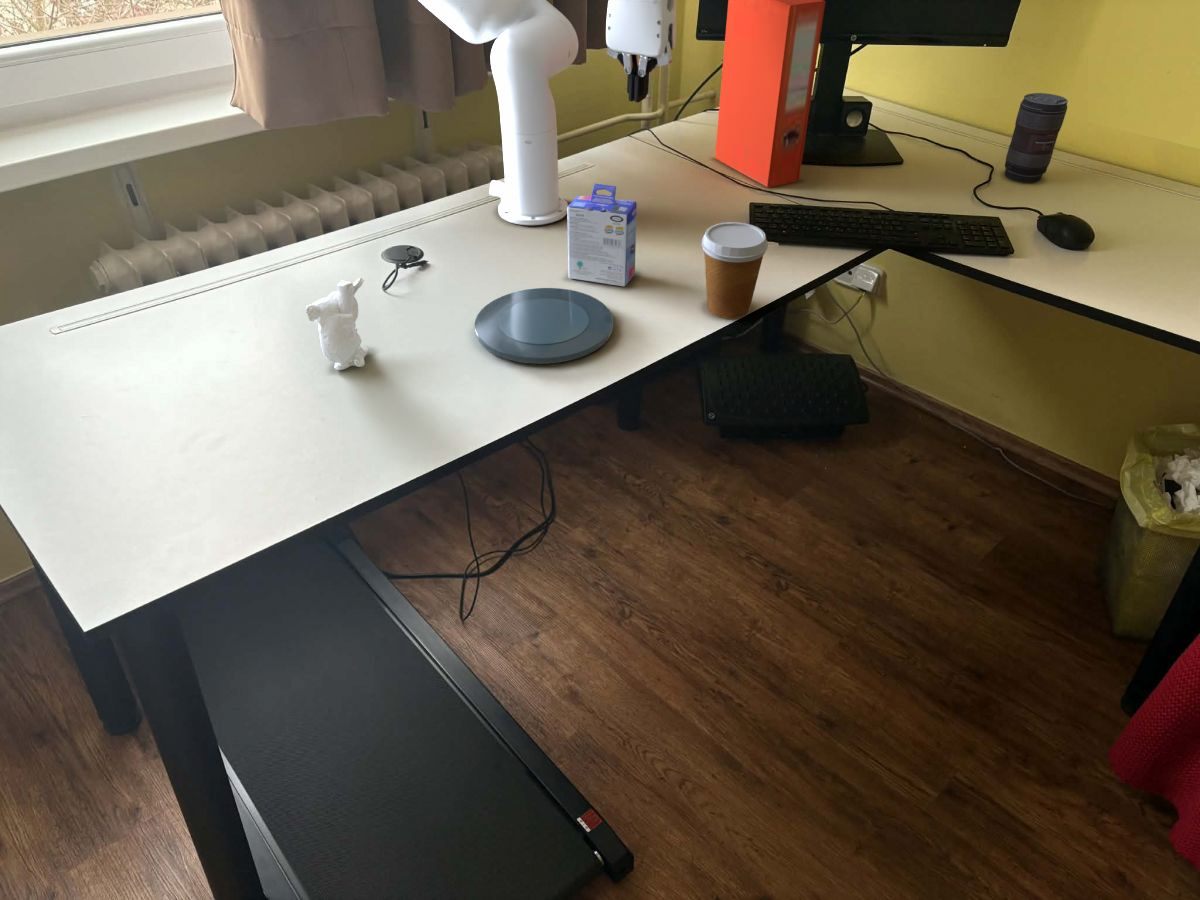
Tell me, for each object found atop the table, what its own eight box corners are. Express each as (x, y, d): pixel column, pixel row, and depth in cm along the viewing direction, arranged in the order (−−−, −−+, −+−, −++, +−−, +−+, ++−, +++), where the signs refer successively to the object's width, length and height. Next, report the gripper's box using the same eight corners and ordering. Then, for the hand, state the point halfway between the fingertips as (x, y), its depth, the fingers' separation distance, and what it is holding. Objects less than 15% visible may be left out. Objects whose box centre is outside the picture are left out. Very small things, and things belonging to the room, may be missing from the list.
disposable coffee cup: (719, 330, 130) (726, 254, 123) (684, 302, 137) (689, 228, 130) (773, 315, 134) (782, 240, 126) (736, 288, 140) (744, 215, 133)
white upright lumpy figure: (370, 343, 128) (355, 266, 121) (387, 365, 124) (373, 287, 116) (311, 360, 125) (293, 282, 117) (327, 383, 120) (308, 304, 113)
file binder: (746, 152, 186) (763, -19, 166) (800, 180, 175) (825, 0, 155) (714, 159, 183) (728, -14, 163) (767, 188, 171) (788, 5, 152)
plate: (448, 346, 127) (447, 337, 126) (519, 285, 141) (519, 276, 140) (573, 381, 120) (573, 371, 119) (635, 313, 134) (635, 304, 133)
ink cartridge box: (636, 272, 145) (639, 185, 136) (626, 288, 141) (628, 199, 132) (579, 264, 147) (577, 178, 138) (567, 279, 143) (565, 191, 134)
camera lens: (1048, 174, 176) (1073, 95, 167) (1039, 188, 171) (1065, 107, 162) (1006, 166, 180) (1028, 88, 171) (996, 179, 174) (1018, 100, 165)
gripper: (699, -29, 130) (690, 100, 142) (609, -40, 136) (607, 85, 147) (678, -19, 125) (670, 114, 137) (584, -31, 131) (584, 98, 142)
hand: (637, 99), depth 142 cm, fingers closed
